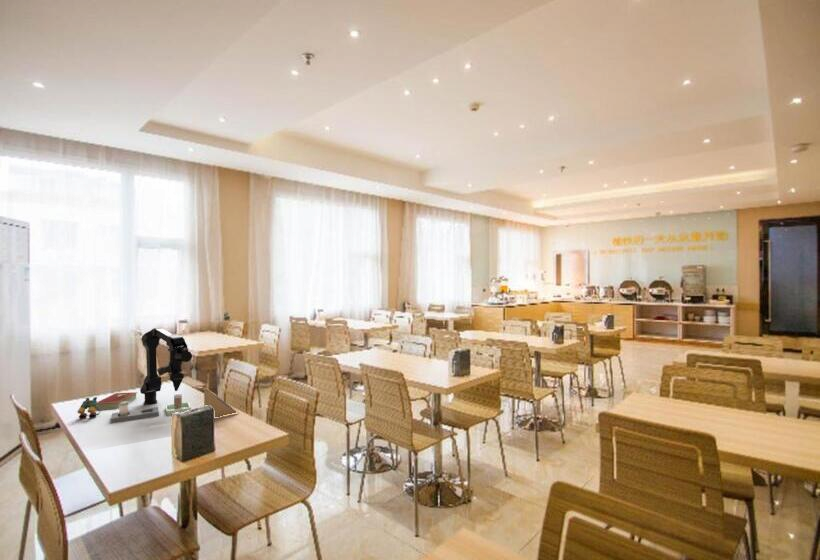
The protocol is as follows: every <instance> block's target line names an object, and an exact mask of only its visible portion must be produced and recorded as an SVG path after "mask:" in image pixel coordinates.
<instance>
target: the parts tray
mask: <svg viewBox="0 0 820 560" xmlns="http://www.w3.org/2000/svg"><path fill="white" fill-rule="evenodd" d="M164 406H165V407H164V409H165V413H166V416H171V414H172V413H175V412H184V411H187V410H190V409H191V410H192V407H191V404H190V402H189V401H187V402H186V401H185V402H182V409H177V410H174V403H172V404H166V405H164ZM172 415H173V414H172Z"/></svg>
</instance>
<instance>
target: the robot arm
mask: <svg viewBox="0 0 820 560" xmlns="http://www.w3.org/2000/svg"><path fill="white" fill-rule="evenodd" d="M160 340H162V341H164V342H165V345H166V346H168V349H167V351H168V352H169V361H168V364H166V365H164V366H161V367H159V368H158V363H157V348H158V347H159V344H160ZM141 342H142V346H143V347H144V348H145V354H146V355H145V357H146V375H145V378H144V379H143V384H142V386H141V388H139V391H140V394H142V395H144V401H143V406H146V405H154V404H155V403H156V404H158V400H157V392H160V391H161V389H162V384H163V383H162V377H161V376H163V375H165V374H168V376H169V380H170V381H171V382H172V385H173V388H174V391H175V392H177V391H179V388H180V386H181V384H182V381H183V380H184V378H185V377H184V373H183V369H182V368H183V367H182V364H183V363H188V362H190V361H191V360H192V357H193V355H192V353H191V352H190V351H189V349H188V348H189V347H188V344H187V342H186V339H185V338H184V337H183V335H179V334H172V333H171V332H169V331H167V330H166V329H164V328H163V327H154V328H152V329H151V330H149V331H147V332H145V333H144V334H143V335H142V336H141Z"/></svg>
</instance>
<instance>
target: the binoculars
mask: <svg viewBox="0 0 820 560" xmlns="http://www.w3.org/2000/svg"><path fill="white" fill-rule="evenodd" d="M97 399H98V397H97V396H94V397H93V399H91V400H90V398H89V397H86V398H85V400H83V402H82V403H81V404H80V407H79V408H78V410H77V411H76V413H77V414H79V416H78V418H79V419H87V417H89V418H96V417H97V416H98V415H100V414H101V412H102V409H100V408H98V407H97V408H96V403H97V402H98V400H97ZM95 408H96V409H99V412H98V413H97V412H96V410H95ZM86 410H87V411H86ZM85 411H86V412H87V413H89V414H87V413H86V412H85Z"/></svg>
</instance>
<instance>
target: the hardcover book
mask: <svg viewBox="0 0 820 560" xmlns="http://www.w3.org/2000/svg"><path fill="white" fill-rule="evenodd" d="M137 394H138V392H137V391H136V392H116V393H113V394H111V395H108V396H107V397H105V398H103V399H101V400H99V401H98V400H97V403H96V408H97V407H98V408H100V409H101V410H118V409H119V403H120V402H123V401H128V402H129V403H131V402H132V401H134V400H137ZM130 401H131V402H130ZM96 408H95V409H96ZM117 408H118V409H117Z"/></svg>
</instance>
